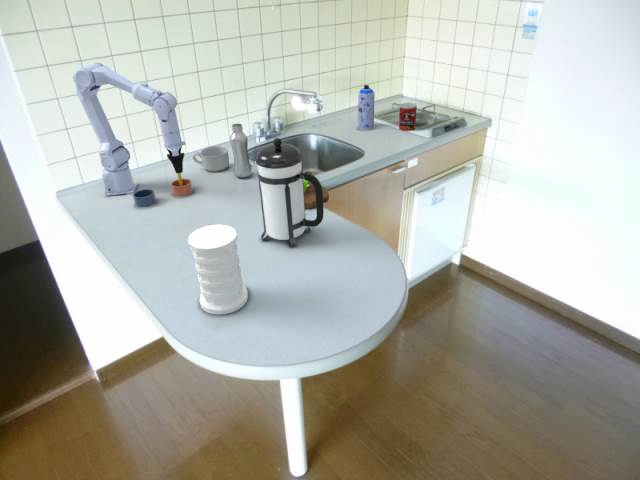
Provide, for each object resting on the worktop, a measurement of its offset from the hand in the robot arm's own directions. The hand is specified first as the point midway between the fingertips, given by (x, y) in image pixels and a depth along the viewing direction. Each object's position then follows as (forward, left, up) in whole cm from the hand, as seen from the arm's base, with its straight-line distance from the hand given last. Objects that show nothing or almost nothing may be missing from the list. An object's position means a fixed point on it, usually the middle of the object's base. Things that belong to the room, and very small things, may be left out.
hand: (178, 168), depth 164 cm
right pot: (0, 0, -9) cm, 9 cm away
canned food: (+99, +48, -9) cm, 111 cm away
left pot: (-12, -6, -9) cm, 16 cm away
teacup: (+10, +20, -9) cm, 24 cm away
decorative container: (+16, -66, -9) cm, 69 cm away
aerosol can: (+81, +54, -9) cm, 98 cm away
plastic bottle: (+22, +10, -9) cm, 26 cm away
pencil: (0, 0, -9) cm, 9 cm away
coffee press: (+35, -39, -9) cm, 53 cm away
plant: (+40, -14, -9) cm, 43 cm away
